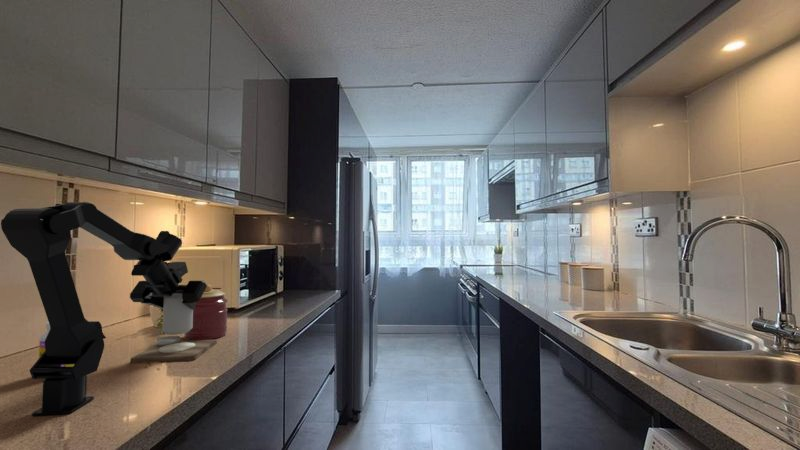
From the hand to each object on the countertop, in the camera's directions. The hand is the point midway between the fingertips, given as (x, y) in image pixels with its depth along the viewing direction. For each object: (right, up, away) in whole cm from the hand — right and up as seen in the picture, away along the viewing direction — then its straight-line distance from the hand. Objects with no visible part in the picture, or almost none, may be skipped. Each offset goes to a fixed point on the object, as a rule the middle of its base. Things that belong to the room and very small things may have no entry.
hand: (181, 308), depth 104 cm
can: (0, -7, -2) cm, 7 cm away
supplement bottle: (-19, -12, -19) cm, 29 cm away
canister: (-2, -14, +16) cm, 21 cm away
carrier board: (0, -12, -2) cm, 13 cm away
